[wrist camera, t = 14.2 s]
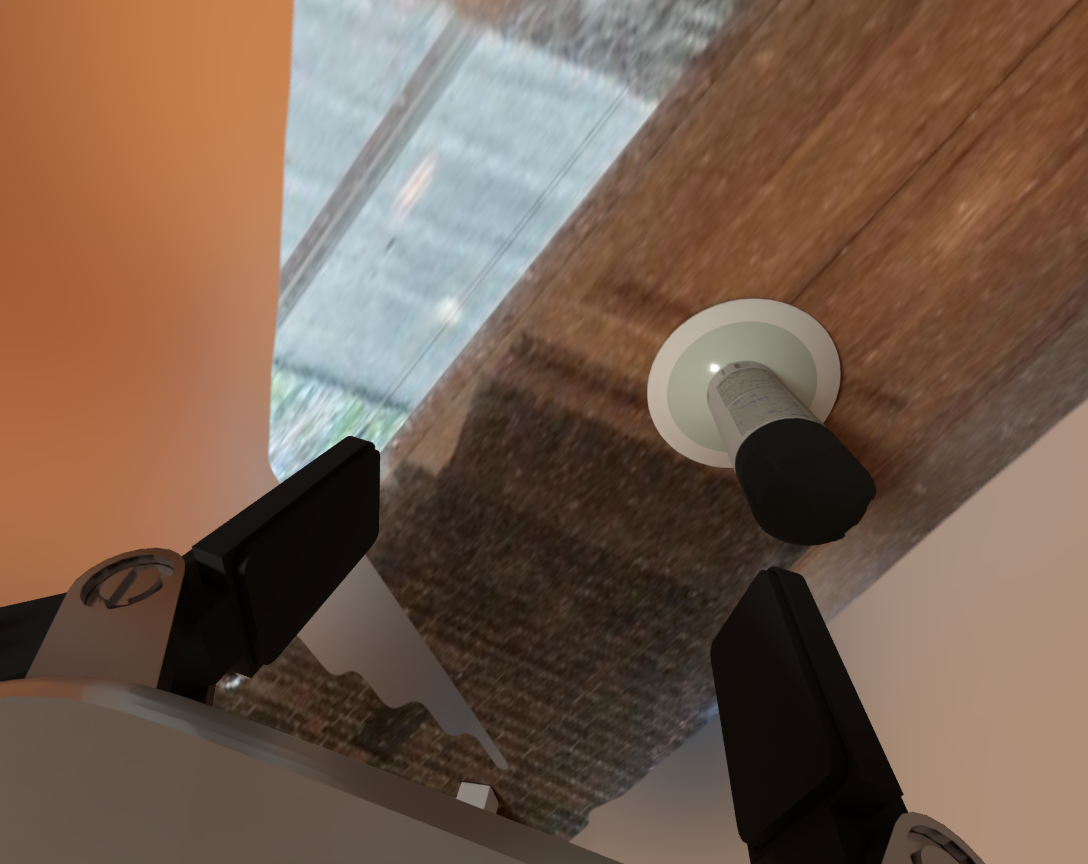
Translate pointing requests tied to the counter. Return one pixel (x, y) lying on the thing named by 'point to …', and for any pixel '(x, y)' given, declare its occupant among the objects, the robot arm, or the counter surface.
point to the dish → (728, 337)
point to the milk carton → (478, 796)
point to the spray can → (786, 458)
